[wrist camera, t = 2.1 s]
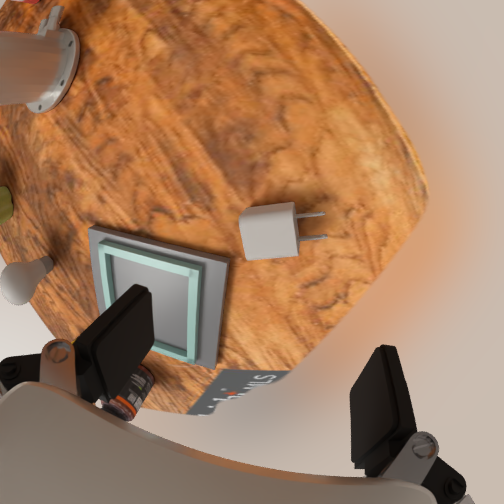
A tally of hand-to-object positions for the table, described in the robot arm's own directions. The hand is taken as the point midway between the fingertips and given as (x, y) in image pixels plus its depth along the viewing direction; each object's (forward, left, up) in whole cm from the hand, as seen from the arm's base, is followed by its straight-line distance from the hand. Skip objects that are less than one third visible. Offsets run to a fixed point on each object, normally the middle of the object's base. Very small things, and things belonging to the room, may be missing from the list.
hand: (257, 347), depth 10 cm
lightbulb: (+13, -34, -17) cm, 40 cm away
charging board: (+13, -14, -17) cm, 25 cm away
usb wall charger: (0, 0, -17) cm, 17 cm away
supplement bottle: (+30, -18, -17) cm, 39 cm away
